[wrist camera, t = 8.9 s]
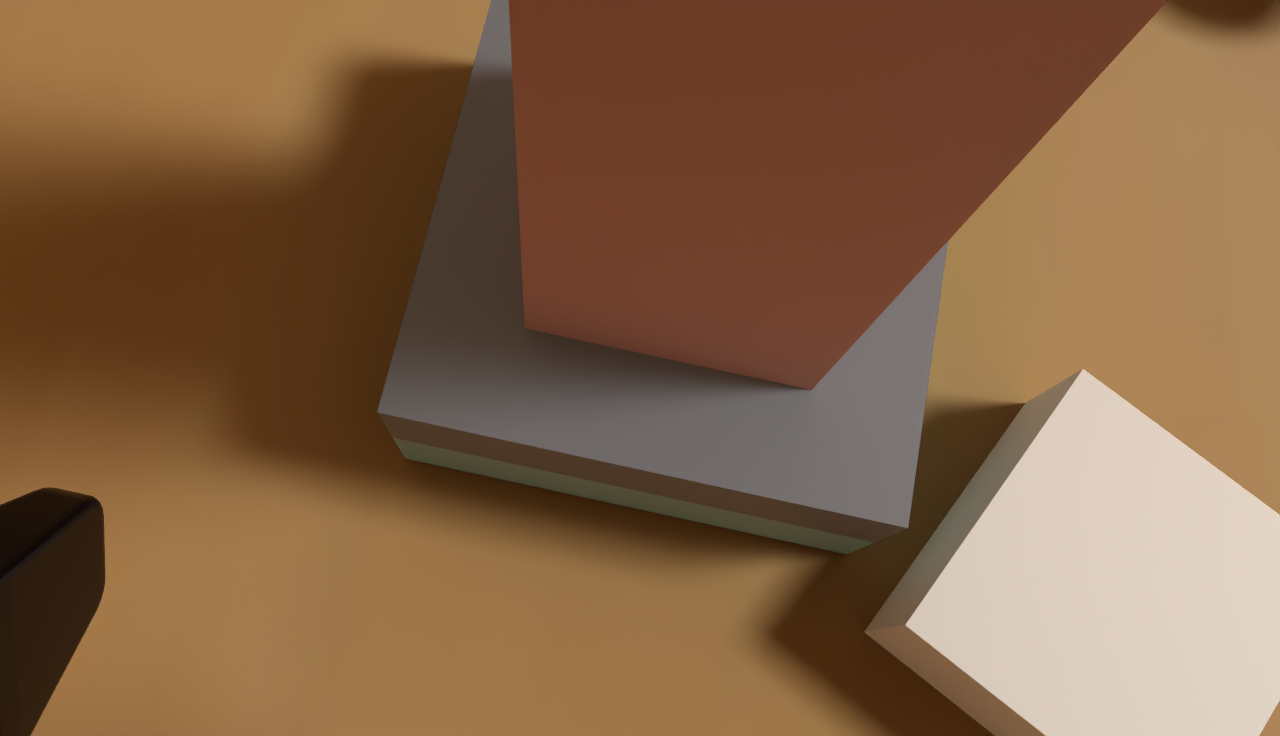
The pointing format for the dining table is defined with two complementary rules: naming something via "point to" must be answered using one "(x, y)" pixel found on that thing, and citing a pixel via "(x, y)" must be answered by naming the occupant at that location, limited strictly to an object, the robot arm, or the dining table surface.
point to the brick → (1096, 583)
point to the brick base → (638, 379)
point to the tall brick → (772, 159)
